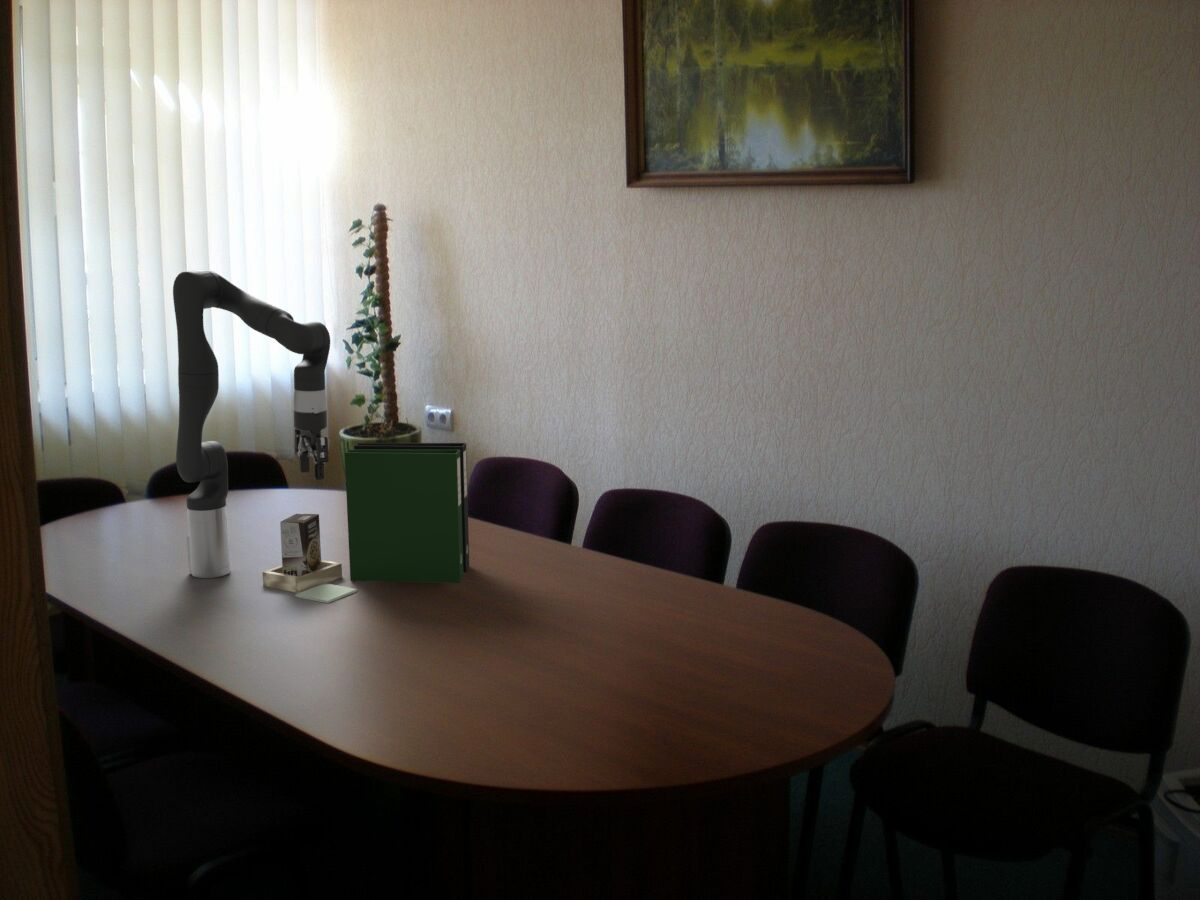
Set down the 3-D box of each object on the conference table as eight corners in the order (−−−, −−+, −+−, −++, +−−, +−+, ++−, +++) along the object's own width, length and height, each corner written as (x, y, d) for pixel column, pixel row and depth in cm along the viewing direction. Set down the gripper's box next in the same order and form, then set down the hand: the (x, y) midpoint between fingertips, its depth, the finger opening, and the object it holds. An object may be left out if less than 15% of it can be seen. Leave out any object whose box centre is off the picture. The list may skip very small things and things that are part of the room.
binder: (349, 581, 289) (343, 453, 283) (364, 564, 303) (359, 441, 297) (460, 583, 287) (456, 453, 281) (469, 565, 302) (466, 442, 296)
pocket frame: (263, 585, 286) (262, 572, 285) (306, 570, 298) (305, 557, 298) (299, 593, 280) (299, 578, 279) (342, 576, 293) (341, 563, 292)
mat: (295, 596, 277) (295, 594, 277) (324, 585, 286) (324, 583, 286) (328, 603, 272) (327, 600, 272) (356, 591, 281) (356, 589, 281)
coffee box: (307, 587, 284) (303, 522, 281) (282, 586, 285) (278, 521, 282) (323, 576, 293) (320, 513, 290) (299, 575, 294) (295, 512, 291)
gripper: (283, 404, 279) (285, 471, 283) (307, 414, 268) (308, 483, 272) (313, 402, 284) (314, 468, 287) (337, 411, 273) (339, 480, 276)
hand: (311, 475), depth 279 cm, fingers open, 8 cm apart
